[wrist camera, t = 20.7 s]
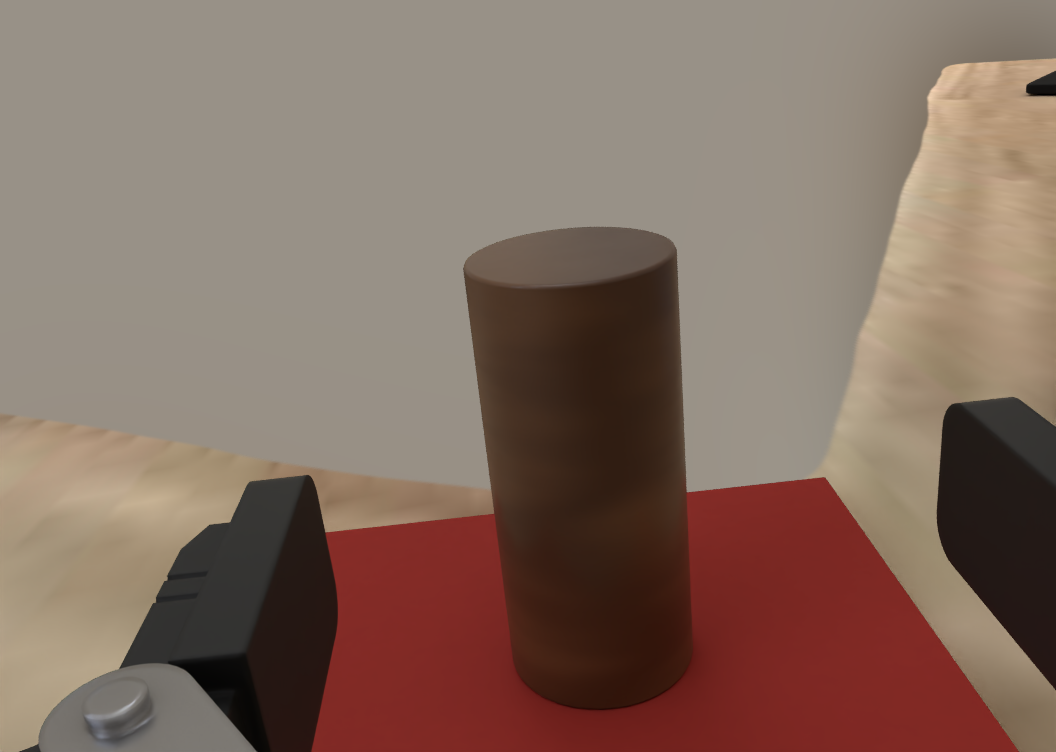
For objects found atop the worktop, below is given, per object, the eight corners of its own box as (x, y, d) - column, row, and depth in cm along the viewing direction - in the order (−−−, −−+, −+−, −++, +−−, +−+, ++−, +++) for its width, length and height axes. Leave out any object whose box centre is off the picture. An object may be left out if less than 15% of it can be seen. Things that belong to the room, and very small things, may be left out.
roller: (515, 721, 22) (461, 296, 18) (510, 605, 26) (464, 238, 22) (710, 699, 22) (696, 270, 18) (674, 587, 26) (656, 218, 22)
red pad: (206, 965, 18) (198, 941, 17) (320, 549, 31) (316, 532, 30) (1078, 865, 18) (1083, 840, 18) (824, 493, 31) (825, 476, 31)
